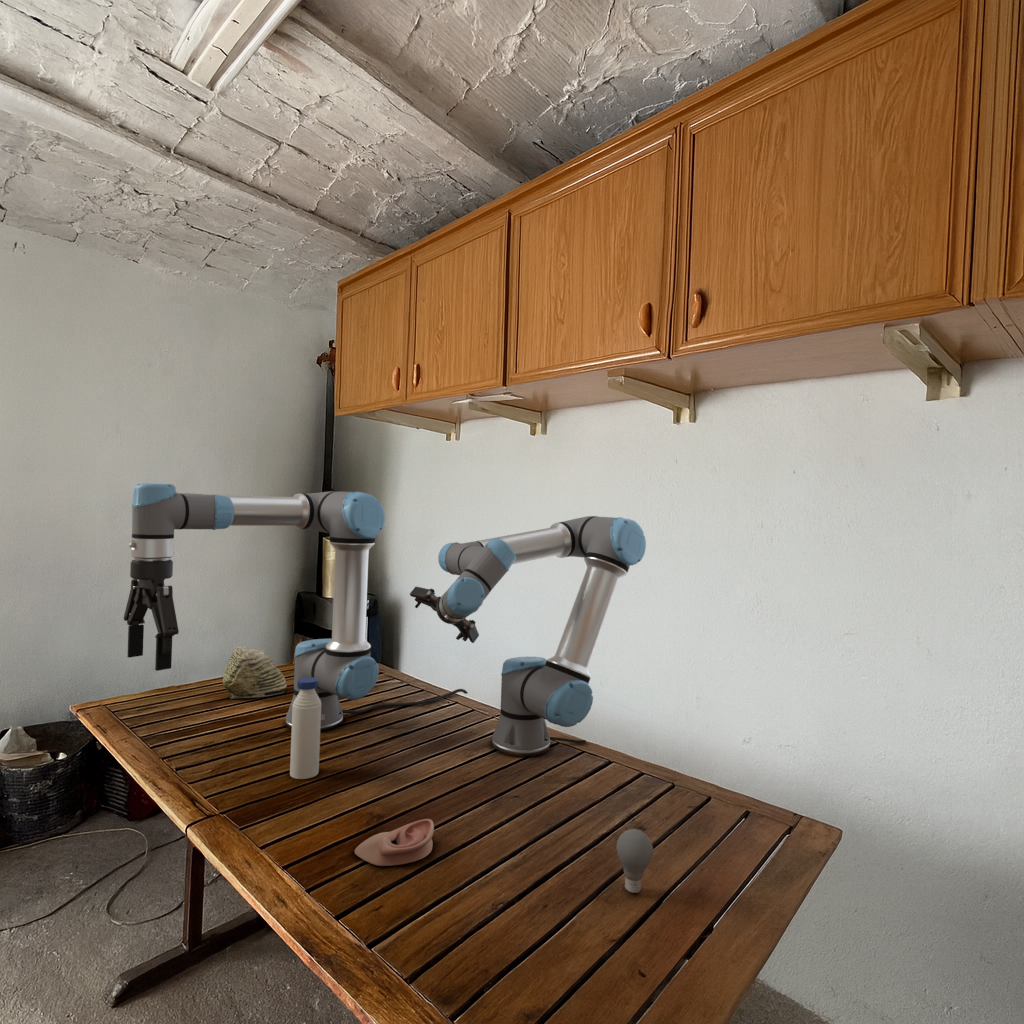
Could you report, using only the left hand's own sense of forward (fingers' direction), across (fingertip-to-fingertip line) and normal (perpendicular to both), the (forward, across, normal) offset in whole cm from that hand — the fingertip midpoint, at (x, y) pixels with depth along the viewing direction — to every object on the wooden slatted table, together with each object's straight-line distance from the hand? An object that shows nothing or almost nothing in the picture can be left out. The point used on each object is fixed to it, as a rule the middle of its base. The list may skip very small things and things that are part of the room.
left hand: (148, 662), depth 129 cm
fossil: (+28, -47, +50) cm, 74 cm away
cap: (+7, +13, +29) cm, 32 cm away
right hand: (-4, +20, +63) cm, 66 cm away
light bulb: (+28, +90, +41) cm, 103 cm away
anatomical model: (+28, +52, +22) cm, 63 cm away
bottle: (+28, +13, +29) cm, 42 cm away
